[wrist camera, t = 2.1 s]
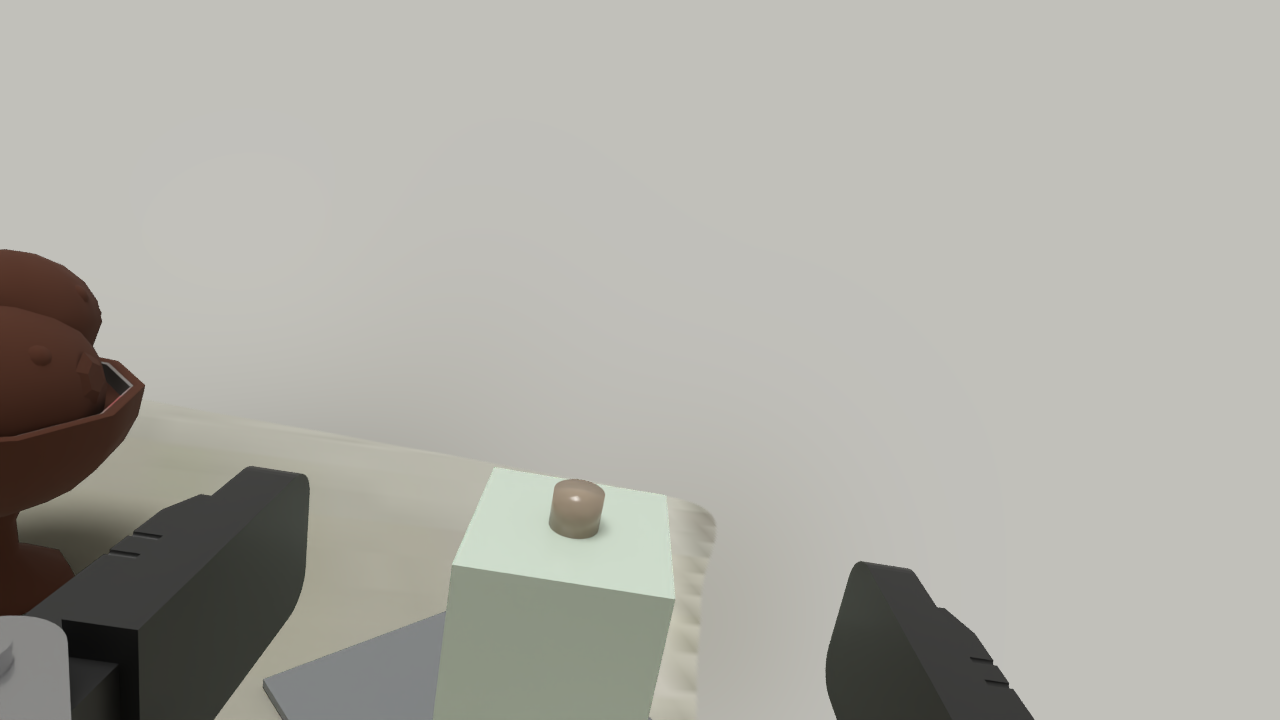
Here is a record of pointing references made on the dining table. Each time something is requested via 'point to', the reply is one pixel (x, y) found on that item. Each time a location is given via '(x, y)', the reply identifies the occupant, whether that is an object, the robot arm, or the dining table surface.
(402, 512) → the dining table surface
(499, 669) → the tall green carton
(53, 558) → the ice cream bowl
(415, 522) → the dining table surface
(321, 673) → the mat
